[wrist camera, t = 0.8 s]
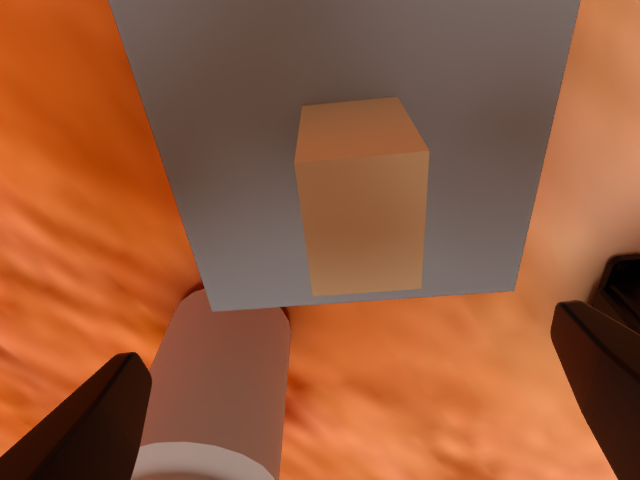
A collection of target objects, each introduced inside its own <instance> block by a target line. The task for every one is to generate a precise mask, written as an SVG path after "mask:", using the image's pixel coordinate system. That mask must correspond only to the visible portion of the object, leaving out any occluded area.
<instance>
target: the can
mask: <svg viewBox="0 0 640 480" xmlns="http://www.w3.org/2000/svg"><path fill="white" fill-rule="evenodd" d="M290 340H291V331H290V325H289V320H288V319H287V317H286V316H285V314H284V312H283V311H282V309H281V308H280V307H273V308H259V309H244V310H230V311H215V312H212V309H211V306H210V303H209V300H208V297H207V294H206V291H205V289H202V290H199V291H196V292H193V293H192V294H190V295H189V296H188V297H186V298H185V299H183V300H182V301H181V302H180V303H179V305H178V307H177V309H176V310H175V312H174V314H173V316H172V319H171V321H170V323H169V326H168V328H167V330H166V333H165V335H164V337H163V340H162V342H161V344H160V347H159V349H158V351H157V354H156V356H155V358H154V361H153V363H152V365H151V368H150V370H149V372H150V374H151V377H152V388H151V393H150V398H149V404H148V409H147V414H146V419H145V424H144V429H143V434H142V440H141V444H140V449H139V453H138V456H137V460H136V464H135V467H134V471H133V474H132V477H131V480H279V474H280V462H281V450H282V438H283V425H284V413H285V401H286V389H287V376H288V364H289V352H290Z"/></svg>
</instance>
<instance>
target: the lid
mask: <svg viewBox="0 0 640 480" xmlns="http://www.w3.org/2000/svg"><path fill="white" fill-rule="evenodd" d="M108 1H109V4H110V7H111V10H112V13H113V16H114V19H115V22H116V25H117V28H118V31H119V34H120V37H121V40H122V43H123V46H124V49H125V52H126V55H127V58H128V61H129V64H130V67H131V70H132V73H133V76H134V79H135V82H136V85H137V88H138V91H139V94H140V97H141V100H142V103H143V106H144V109H145V112H146V115H147V118H148V121H149V123H150V126H151V129H152V132H153V135H154V138H155V141H156V144H157V147H158V150H159V153H160V156H161V159H162V162H163V165H164V168H165V171H166V174H167V177H168V180H169V183H170V186H171V189H172V192H173V195H174V198H175V201H176V204H177V207H178V210H179V213H180V216H181V219H182V222H183V225H184V228H185V231H186V234H187V237H188V240H189V243H190V246H191V249H192V252H193V255H194V258H195V261H196V264H197V267H198V270H199V273H200V276H201V279H202V282H203V285H204V288H205V291H206V294H207V297H208V300H209V303H210V306H211V309H212V312H215V311H230V310H244V309H259V308H273V307H288V306H303V305H317V304H332V303H346V302H361V301H376V300H390V299H405V298H420V297H434V296H449V295H463V294H478V293H493V292H507V291H514V289H515V285H516V280H517V276H518V271H519V267H520V263H521V258H522V254H523V250H524V245H525V241H526V237H527V232H528V228H529V223H530V219H531V215H532V210H533V206H534V202H535V197H536V193H537V188H538V184H539V180H540V175H541V171H542V167H543V162H544V158H545V154H546V149H547V145H548V140H549V136H550V132H551V127H552V123H553V119H554V114H555V110H556V105H557V101H558V97H559V92H560V88H561V84H562V79H563V75H564V71H565V66H566V62H567V57H568V53H569V49H570V44H571V40H572V36H573V31H574V27H575V23H576V18H577V14H578V9H579V5H580V1H581V0H108Z"/></svg>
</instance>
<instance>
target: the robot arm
mask: <svg viewBox="0 0 640 480" xmlns="http://www.w3.org/2000/svg"><path fill="white" fill-rule="evenodd" d="M618 265H619V266H618ZM551 339H552V342H553V345H554V347H555V350H556V352H557V354H558V357H559V359H560V362H561V364H562V367H563V369H564V371H565V374H566V376H567V379H568V381H569V383H570V386H571V388H572V391H573V393H574V396H575V398H576V400H577V403H578V405H579V407H580V409H581V412H582V414H583V416H584V418H585V420H586V422H587V424H588V425H589V427H590V429H591V431H592V433H593V435H594V436H595V438H596V440H597V442H598V444H599V446H600V447H601V449H602V451H603V453H604V455H605V457H606V458H607V460H608V462H609V464H610V466H611V468H612V469H613V471H614V473H615V475H616V477H617V478H618V480H640V255H628V256H618V257H615V258H613V259H612V260H610V262H609V263H608V266H607V268H606V271H605V273H604V276H603V279H602V281H601V284H600V286H599V289H598V292H597V294H596V297H595V300H594V302H593V305H592V307H591V306H590V305H588V304H586V303H584V302H582V301H580V300H573V301H565V302H559V303H558V304H557V305H556V307H555V311H554V316H553V321H552V326H551ZM151 388H152V377H151V374H150V372H149V371H148V369H147V367H146V366H145V364H144V363H143V361H142V359H141V358H140V356H139V355H138V354H137V353H135V352H129V353H120V354H117V355H115V356H114V357H113V358H111V359H110V360H109V361H108V362H107V363H106V364H105V365H104V366H102V367H101V368H100V369H99V370H98V371H97V372H96V373H95V374H93V375H92V376H91V377H90V378H89V379H88V380H87V381H86V382H84V383H83V384H82V385H81V386H80V387H79V388H78V389H77V390H75V391H74V392H73V393H72V394H71V395H70V396H69V397H68V398H66V399H65V400H64V401H63V402H62V403H61V404H60V405H59V406H58V407H56V408H55V409H54V410H53V411H52V412H51V413H50V414H49V415H47V416H46V417H45V418H44V419H43V420H42V421H41V422H40V423H38V424H37V425H36V426H35V427H34V428H33V429H32V430H31V431H29V432H28V433H27V434H26V435H25V436H24V437H23V438H22V439H20V440H19V441H18V442H17V443H16V444H15V445H14V446H13V447H11V448H10V449H9V450H8V451H7V452H6V453H5V454H3V455H2V456H1V457H0V480H131V477H132V474H133V471H134V467H135V464H136V460H137V456H138V453H139V449H140V444H141V440H142V434H143V429H144V424H145V419H146V414H147V409H148V404H149V398H150V393H151Z"/></svg>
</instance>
